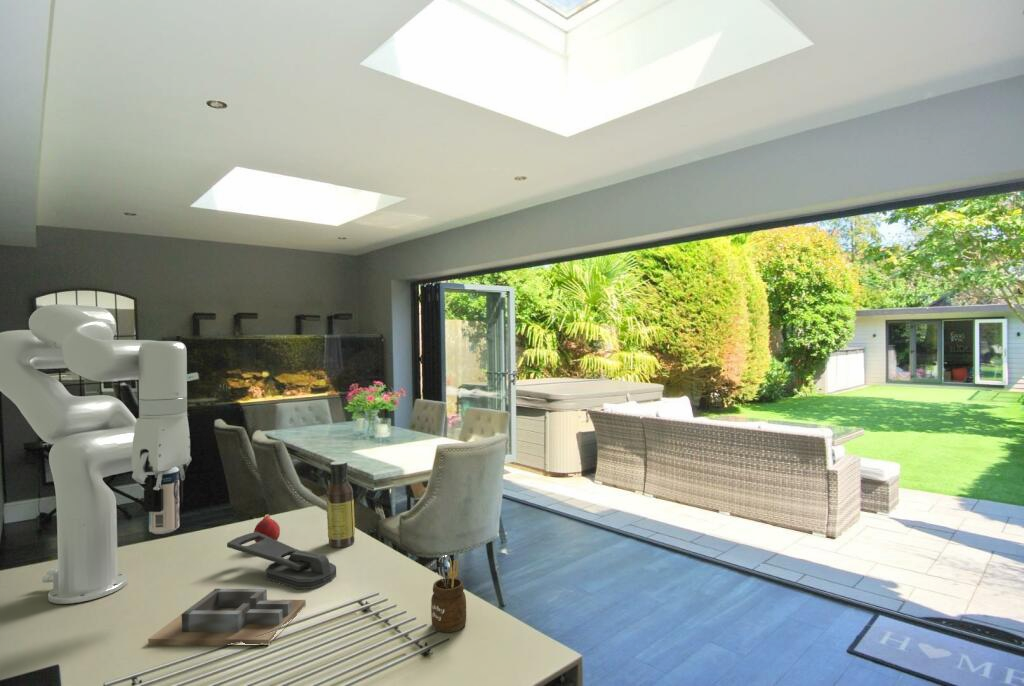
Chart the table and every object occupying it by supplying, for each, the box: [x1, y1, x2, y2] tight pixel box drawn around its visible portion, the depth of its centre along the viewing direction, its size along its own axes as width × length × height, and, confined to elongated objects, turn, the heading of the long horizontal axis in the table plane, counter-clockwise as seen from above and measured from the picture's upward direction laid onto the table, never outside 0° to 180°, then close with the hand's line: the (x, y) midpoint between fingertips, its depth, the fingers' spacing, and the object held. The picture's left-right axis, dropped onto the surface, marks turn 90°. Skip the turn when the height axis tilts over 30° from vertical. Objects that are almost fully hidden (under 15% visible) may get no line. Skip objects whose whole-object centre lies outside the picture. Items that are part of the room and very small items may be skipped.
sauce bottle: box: [326, 460, 356, 548], centre depth 136 cm, size 6×6×20 cm
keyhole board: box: [147, 588, 307, 647], centre depth 97 cm, size 20×14×4 cm
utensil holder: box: [430, 555, 467, 633], centre depth 95 cm, size 6×6×12 cm
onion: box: [253, 514, 281, 543], centre depth 134 cm, size 6×6×8 cm
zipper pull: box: [226, 531, 337, 591], centre depth 118 cm, size 9×7×25 cm
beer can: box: [148, 467, 180, 535], centre depth 103 cm, size 5×5×12 cm
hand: (164, 505), depth 103 cm, fingers closed on beer can, 4 cm apart
